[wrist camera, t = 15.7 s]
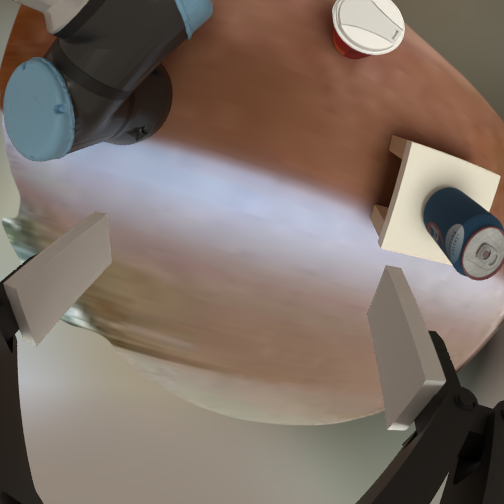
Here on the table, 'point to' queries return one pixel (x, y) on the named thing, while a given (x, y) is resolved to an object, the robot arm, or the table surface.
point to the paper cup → (366, 27)
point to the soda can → (465, 233)
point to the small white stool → (426, 196)
